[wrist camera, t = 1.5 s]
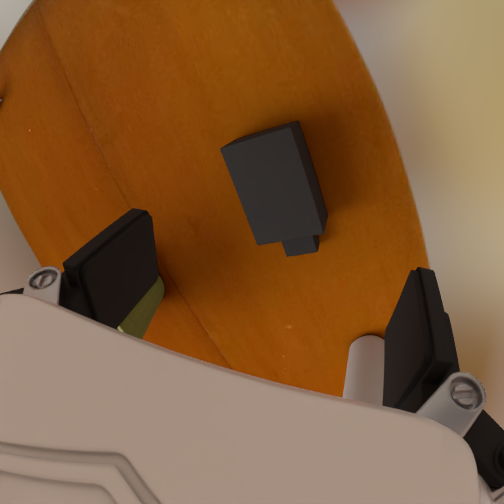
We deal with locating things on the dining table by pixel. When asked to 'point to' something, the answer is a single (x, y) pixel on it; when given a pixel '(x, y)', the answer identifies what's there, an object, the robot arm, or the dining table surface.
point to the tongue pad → (278, 187)
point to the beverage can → (365, 370)
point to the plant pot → (143, 311)
